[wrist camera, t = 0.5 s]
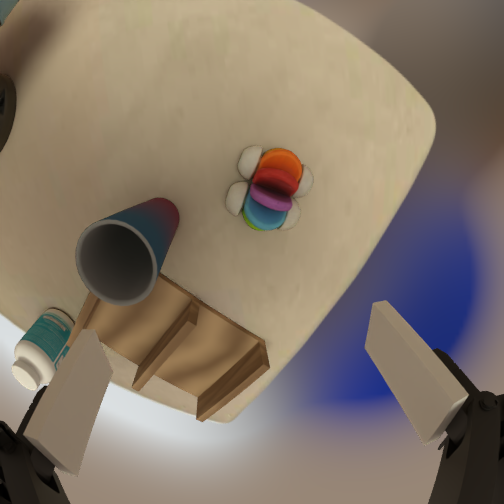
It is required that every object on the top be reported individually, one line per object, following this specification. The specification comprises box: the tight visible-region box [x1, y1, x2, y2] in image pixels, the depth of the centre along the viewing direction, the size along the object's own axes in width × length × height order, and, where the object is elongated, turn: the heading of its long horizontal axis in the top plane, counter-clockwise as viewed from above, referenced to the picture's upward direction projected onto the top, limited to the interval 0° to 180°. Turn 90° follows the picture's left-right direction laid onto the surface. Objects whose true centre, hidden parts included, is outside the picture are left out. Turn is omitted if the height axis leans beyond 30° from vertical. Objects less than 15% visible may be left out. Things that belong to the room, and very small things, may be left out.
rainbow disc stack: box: [225, 146, 314, 231], centre depth 29 cm, size 8×10×7 cm
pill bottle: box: [11, 309, 74, 391], centre depth 30 cm, size 8×7×14 cm
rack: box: [66, 272, 270, 422], centre depth 35 cm, size 24×16×6 cm, turn 50°
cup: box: [75, 198, 179, 306], centre depth 25 cm, size 7×7×15 cm
